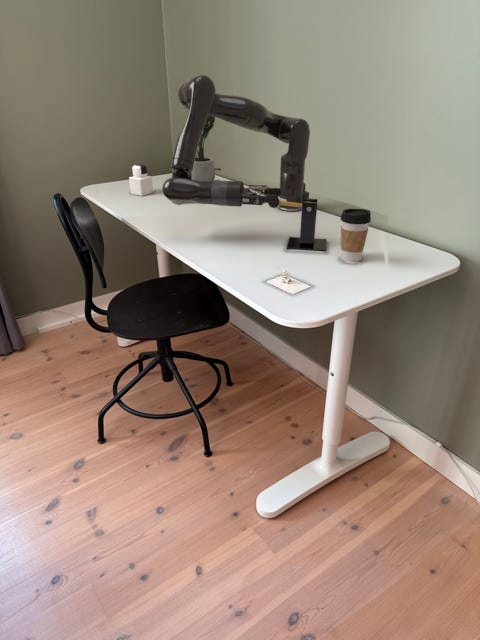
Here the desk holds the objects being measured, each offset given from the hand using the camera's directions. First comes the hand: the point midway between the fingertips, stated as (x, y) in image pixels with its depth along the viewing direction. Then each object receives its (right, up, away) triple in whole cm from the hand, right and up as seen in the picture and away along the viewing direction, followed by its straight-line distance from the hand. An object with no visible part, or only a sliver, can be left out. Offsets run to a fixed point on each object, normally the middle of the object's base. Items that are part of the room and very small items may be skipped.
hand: (279, 195), depth 145 cm
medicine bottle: (-55, +18, +65) cm, 87 cm away
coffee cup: (+21, -20, -3) cm, 29 cm away
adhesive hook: (+1, -29, -18) cm, 34 cm away
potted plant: (-29, +16, +61) cm, 69 cm away
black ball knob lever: (+3, -4, +2) cm, 5 cm away
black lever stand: (+9, -15, +6) cm, 18 cm away
